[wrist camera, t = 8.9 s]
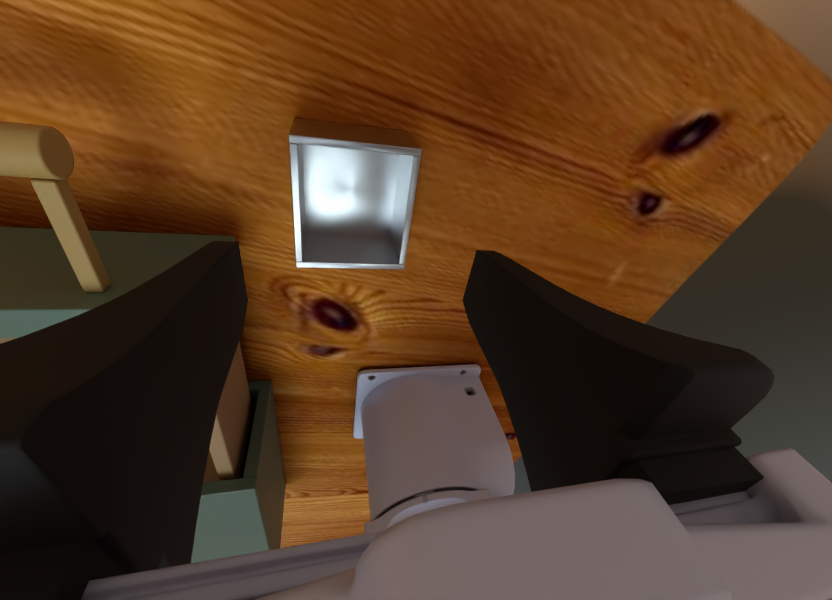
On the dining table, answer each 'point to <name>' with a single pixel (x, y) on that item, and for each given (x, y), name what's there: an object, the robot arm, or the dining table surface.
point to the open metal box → (351, 194)
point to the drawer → (95, 273)
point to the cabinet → (246, 492)
